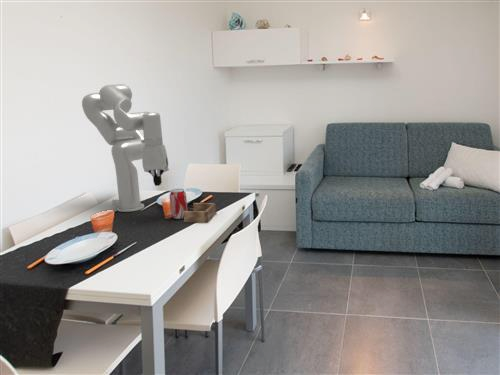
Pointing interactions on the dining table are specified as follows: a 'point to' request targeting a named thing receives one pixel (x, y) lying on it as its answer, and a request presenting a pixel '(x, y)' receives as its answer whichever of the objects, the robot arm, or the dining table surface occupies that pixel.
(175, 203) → the soda can
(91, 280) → the dining table surface
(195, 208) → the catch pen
